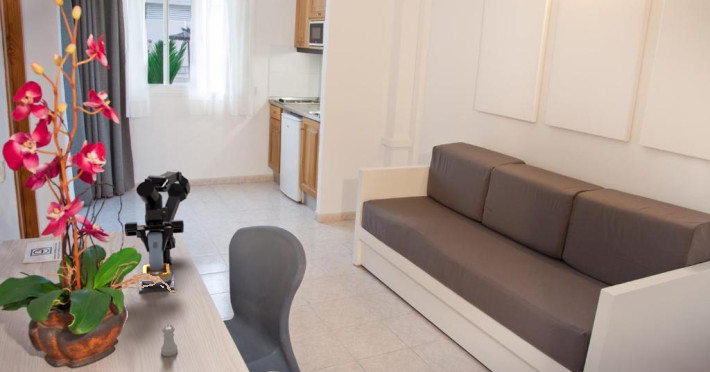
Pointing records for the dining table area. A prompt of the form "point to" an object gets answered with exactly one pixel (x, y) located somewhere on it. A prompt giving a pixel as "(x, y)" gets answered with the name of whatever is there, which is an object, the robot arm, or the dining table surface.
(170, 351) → the rook chess piece
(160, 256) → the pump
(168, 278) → the open square bin
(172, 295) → the dining table surface
